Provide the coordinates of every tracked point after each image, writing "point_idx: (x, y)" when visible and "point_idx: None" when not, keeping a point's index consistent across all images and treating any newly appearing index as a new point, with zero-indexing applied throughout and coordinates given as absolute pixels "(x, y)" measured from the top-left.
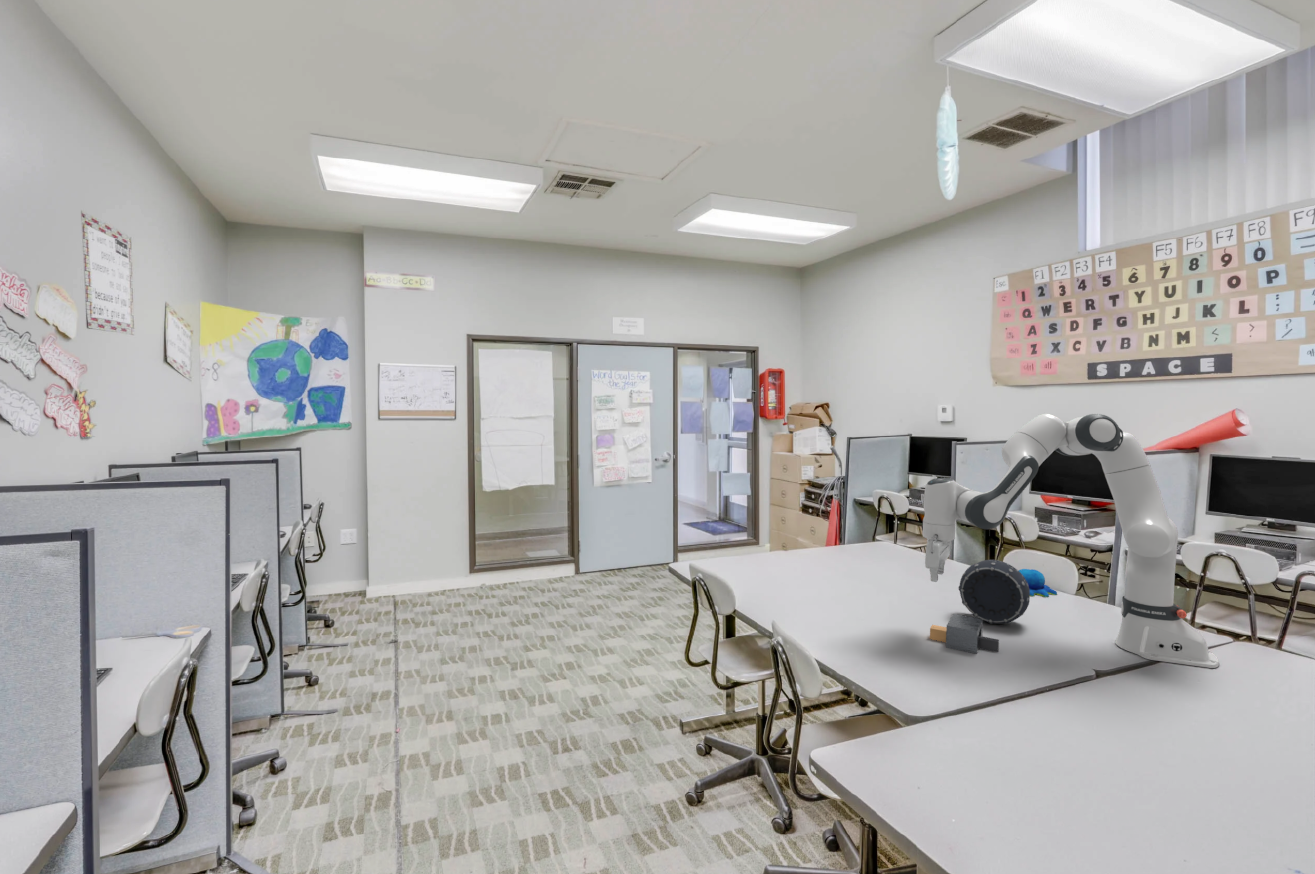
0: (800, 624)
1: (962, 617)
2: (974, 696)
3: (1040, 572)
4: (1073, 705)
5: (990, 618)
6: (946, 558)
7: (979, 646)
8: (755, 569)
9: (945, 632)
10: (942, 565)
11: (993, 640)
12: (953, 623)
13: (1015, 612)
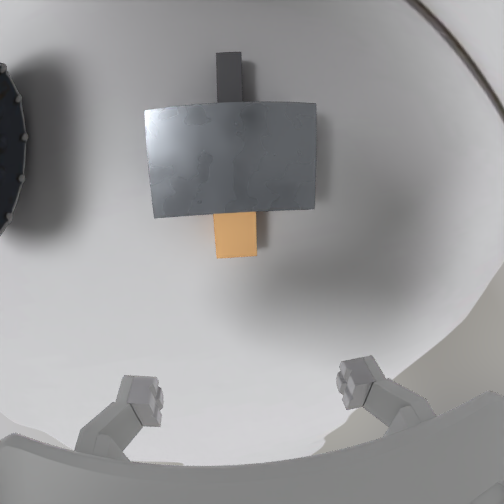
0: (314, 423)
1: (177, 178)
2: (490, 122)
3: None
4: None
5: (18, 140)
6: (136, 475)
7: None
8: None
9: None
10: (119, 423)
11: (237, 65)
12: (276, 192)
13: (2, 72)
